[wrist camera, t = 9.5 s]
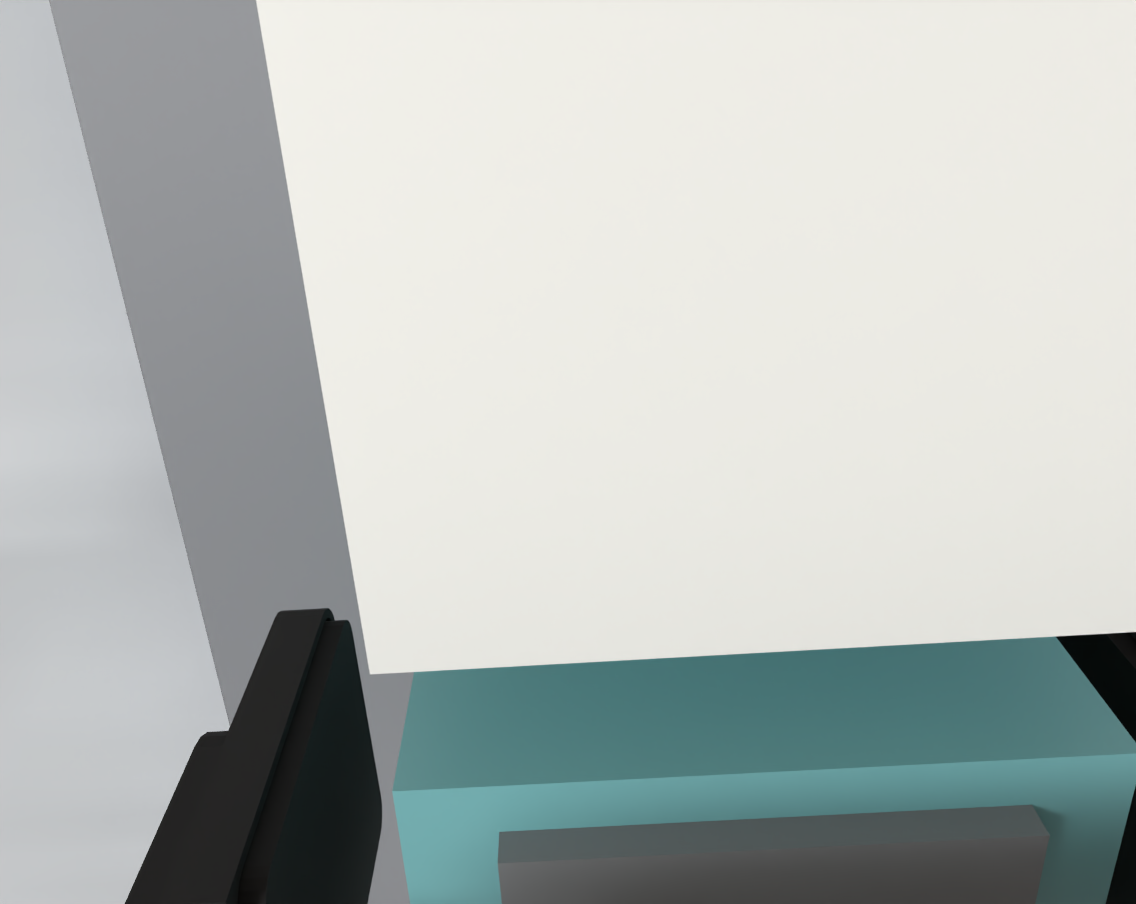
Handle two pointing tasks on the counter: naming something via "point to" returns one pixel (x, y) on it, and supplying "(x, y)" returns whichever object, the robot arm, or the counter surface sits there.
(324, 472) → the board
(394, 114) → the block
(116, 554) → the counter surface
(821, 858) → the teal module
